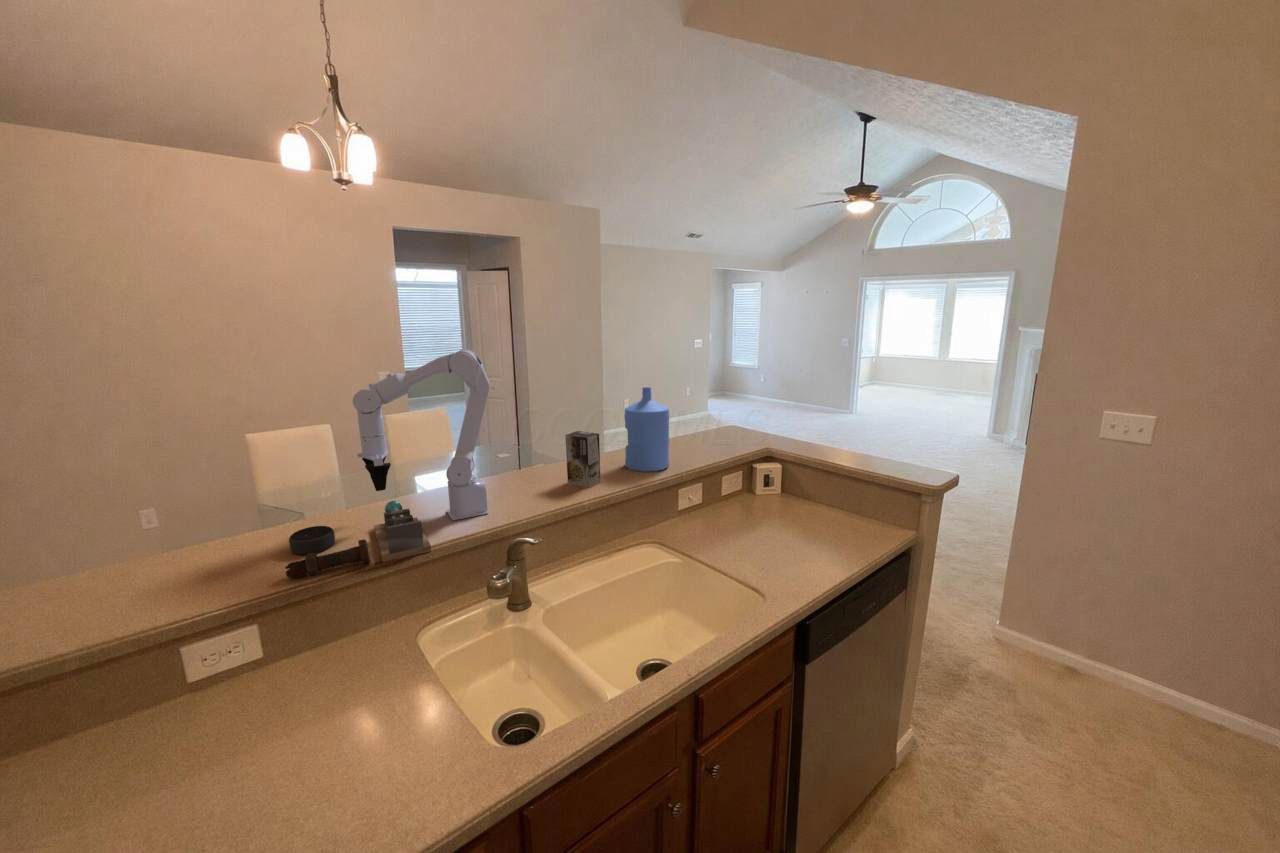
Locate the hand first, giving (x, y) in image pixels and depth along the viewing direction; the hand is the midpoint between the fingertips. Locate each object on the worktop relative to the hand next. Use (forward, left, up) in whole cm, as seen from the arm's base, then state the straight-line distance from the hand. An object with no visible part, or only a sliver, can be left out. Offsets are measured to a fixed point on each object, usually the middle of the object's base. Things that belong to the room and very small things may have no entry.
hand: (379, 486), depth 135 cm
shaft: (-2, +11, -7) cm, 14 cm away
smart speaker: (+16, +9, -10) cm, 21 cm away
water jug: (-85, -6, -10) cm, 86 cm away
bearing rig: (-2, +16, -9) cm, 19 cm away
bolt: (+13, +24, -10) cm, 29 cm away
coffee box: (-58, -1, -10) cm, 59 cm away
